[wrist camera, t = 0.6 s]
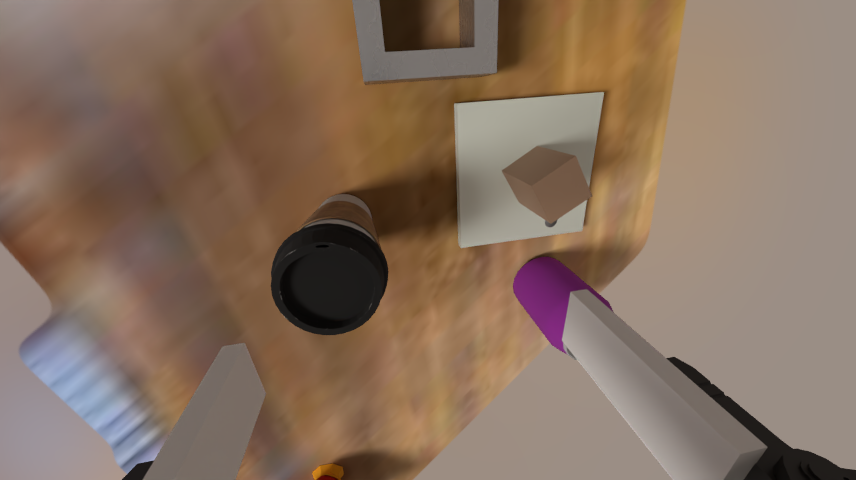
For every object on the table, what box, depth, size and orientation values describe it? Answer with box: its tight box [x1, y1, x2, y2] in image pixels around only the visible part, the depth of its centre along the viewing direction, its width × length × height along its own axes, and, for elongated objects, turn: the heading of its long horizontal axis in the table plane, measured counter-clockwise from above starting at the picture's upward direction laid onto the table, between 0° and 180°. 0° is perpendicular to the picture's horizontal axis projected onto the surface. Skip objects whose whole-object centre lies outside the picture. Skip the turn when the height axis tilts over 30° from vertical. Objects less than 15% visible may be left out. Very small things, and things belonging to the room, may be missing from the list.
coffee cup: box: [271, 194, 388, 335], centre depth 27 cm, size 8×8×15 cm
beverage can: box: [513, 257, 613, 360], centre depth 37 cm, size 8×8×12 cm
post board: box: [454, 92, 604, 248], centre depth 32 cm, size 16×16×8 cm
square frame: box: [352, 0, 498, 85], centre depth 25 cm, size 12×12×4 cm
